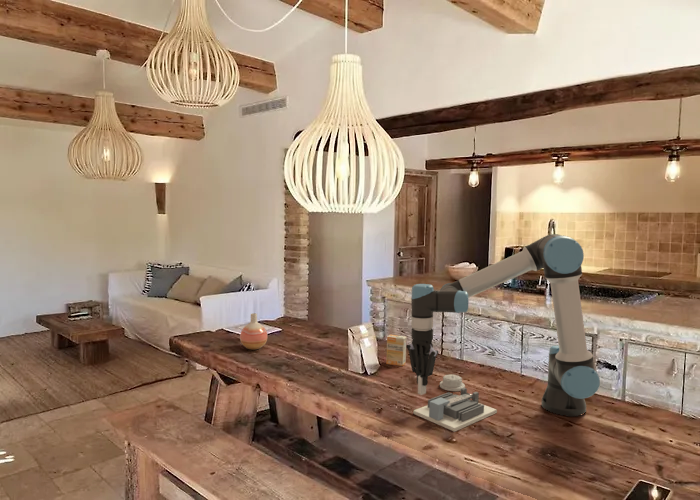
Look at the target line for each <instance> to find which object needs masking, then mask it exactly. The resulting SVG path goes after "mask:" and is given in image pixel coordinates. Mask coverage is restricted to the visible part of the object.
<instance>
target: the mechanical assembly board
mask: <svg viewBox="0 0 700 500" xmlns="http://www.w3.org/2000/svg"><path fill="white" fill-rule="evenodd" d="M467 390H468V389H467V387H465V388H462V389H461V391H460V395H463V394H465V393H468V392H467ZM460 395H459V394H456V393H451V391H448V392H446V393H442V394H440V395H438V396H435V397H432V398H430V399H429V398H428V399H427V405H424V406H422V407H419V408H416V409H414V410H413V415H416V416H418V417H420V418H422V419H424V420H427V421H429V422H432V423H434V424H436V425H438V426H440V427H443V428H445V429H448V430H450V431H451V432H455V433H456V432H457V431H459V430H461V429H464V428H466V427H468V426H471V425H473V424H475V423H477V422H480V421H481V420H483V419H487V418H488V417H490V416H493V415H496V414H497V412H498V411H497V409H496V408H493V407H491V406H488V405H485V404H483V403H481V402H479V395H480V394H479V392H478V391H474V392H472V399H469V400H466V401H463V402H460V403H457V404H454V405H451V407H450V408H447V409H446V408H444V410H443V419H441V420H436V419H434V418H431V417H429V406H430V401H432V400H435V399H437V398H440V397H441V398H444V399H446V400H448V399H451V398H454V397H457V396H460Z"/></svg>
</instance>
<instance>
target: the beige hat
mask: <svg viewBox="0 0 700 500" xmlns="http://www.w3.org/2000/svg"><path fill="white" fill-rule="evenodd" d="M439 387H440V389H442V390H445V391H448V392H461V389H462V388H466V385H465V383H463V377H461V376H460V375H457V374H450V373H449V374H445V375H443V377H442V380H441V381H440V382H439Z"/></svg>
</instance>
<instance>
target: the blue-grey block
mask: <svg viewBox="0 0 700 500" xmlns="http://www.w3.org/2000/svg"><path fill="white" fill-rule="evenodd" d="M449 403H450V401H449V400H446V399H444V398H441V397H440V398H437V399H435V400H432V401H430V406H429V417H431V418H434V419H436V420H441V419H443V410H444V405H446V404H449Z"/></svg>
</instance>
